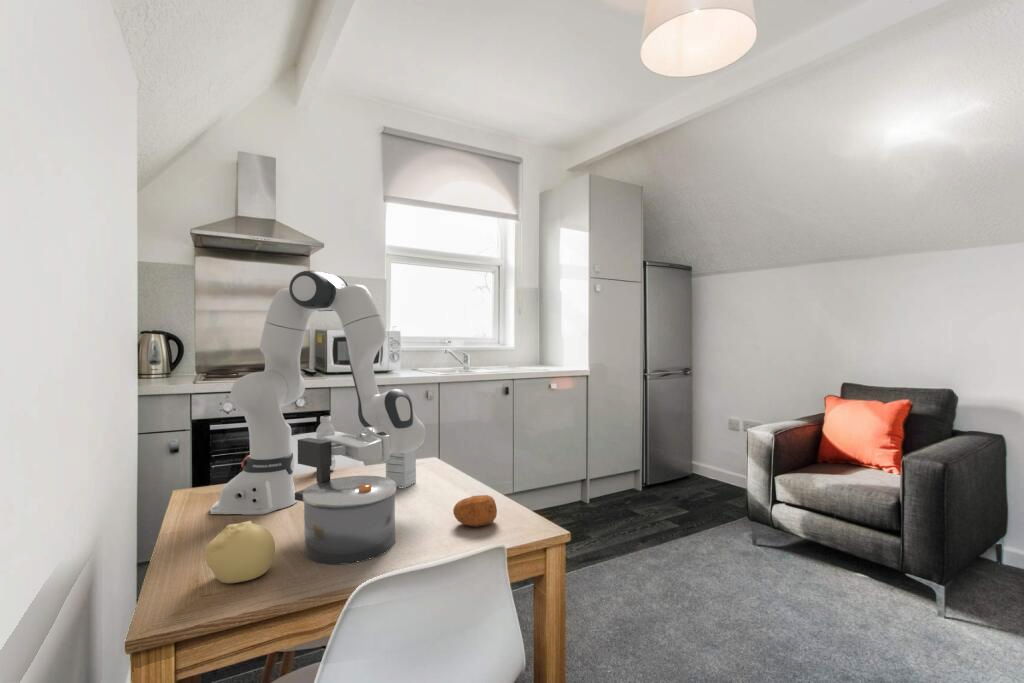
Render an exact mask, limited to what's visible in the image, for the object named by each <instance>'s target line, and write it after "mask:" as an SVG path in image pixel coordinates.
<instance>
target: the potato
mask: <svg viewBox="0 0 1024 683" xmlns="http://www.w3.org/2000/svg"><path fill="white" fill-rule="evenodd" d="M497 512H498V510H497V505H496V501H495V499H494V498H493V497H492V496H491V495H488V494H484V495H479V494H478V495H472V496H469V497H465V498H462V499H461V500H458V501H457V503H456V504H455V505H454V506H453V515H454V518H455V519H456V520H457V522H459V523H461V524H462V525H465V526H469V527H475V528H476V527H477V528H478V527H483V526H487V525H490V524H491V523H493V522H494V521H495V520H496V518H497V515H498V514H497Z"/></svg>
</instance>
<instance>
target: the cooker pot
mask: <svg viewBox="0 0 1024 683" xmlns="http://www.w3.org/2000/svg"><path fill="white" fill-rule="evenodd" d="M305 489H306V488H304V489H301V490H298V491H296V492H295V500H298V501H299V502H303V504H304V505H303V507H304V508H303V509H304V510H303V514H304V517H303V518H304V520H303V524H304V528H303V529H304V555H305V557H306V558H307V559H308V560H310V561H312V562H315V563H317V562H318V564H322V563H325V564H324V565H342V564H341V563H350V564H353V563H352V562H356V563H358V562H357V561H361V562H363V561H362V560H365V561H367V560H366V559H369V558H372V557H375V558H377V557H379V556H378V555H380V554H382V553H384V552H385V553H387V552H388V551H389V549H390V548H391V547H392V546H393V547H394V545H395V544H396V543H395V542H396V513H395V512H396V498H395V497H396V496H395V495H396V492H395V493H394V494H393V495H391V496H390V497H388V498H386V499H384V500H381V501H378V502H374V503H371V504H366V505H361V506H354V507H342V508H326V507H317V506H312V505H309V504H307V503H305V502H304V501H303V491H304V490H305ZM298 501H297V502H298ZM393 547H392V548H393ZM392 548H391V549H392ZM391 549H390V550H391ZM387 550H388V551H387ZM386 551H387V552H386ZM385 553H384V554H385ZM382 555H383V554H382ZM376 556H377V557H376ZM380 556H381V555H380ZM372 559H373V558H372ZM369 560H370V559H369Z"/></svg>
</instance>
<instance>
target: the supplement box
mask: <svg viewBox="0 0 1024 683" xmlns="http://www.w3.org/2000/svg"><path fill="white" fill-rule="evenodd" d="M416 452H417V449H415V450H412V451H409V452H406V453H402V454H390V459H388V460H385V478H389V479H391V480H393V481H394V482H395V483H396V487H403V488H402V489H404V488H405V489H406V487H407V488H408V487H410V486H412V485H413V483H414V484H416V483H417V463H416V461H417V460H416V458H417V457H416V456H417V455H416ZM415 482H416V483H415ZM411 484H412V485H411Z"/></svg>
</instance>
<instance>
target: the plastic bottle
mask: <svg viewBox="0 0 1024 683" xmlns="http://www.w3.org/2000/svg"><path fill="white" fill-rule="evenodd" d="M319 422H320V424H318V426H317V428H316V430H315V434H316V439H321V440H323V438H324V437H326V436H332V435H336V433H335V432H336V429H335V427H334V425H333V424H332V423H331V422H332V416H331V415H322V416H320V419H319ZM336 466H337V463H336V457H335V455H332V466H330V472H331V471H333V470H335V468H336Z"/></svg>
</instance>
